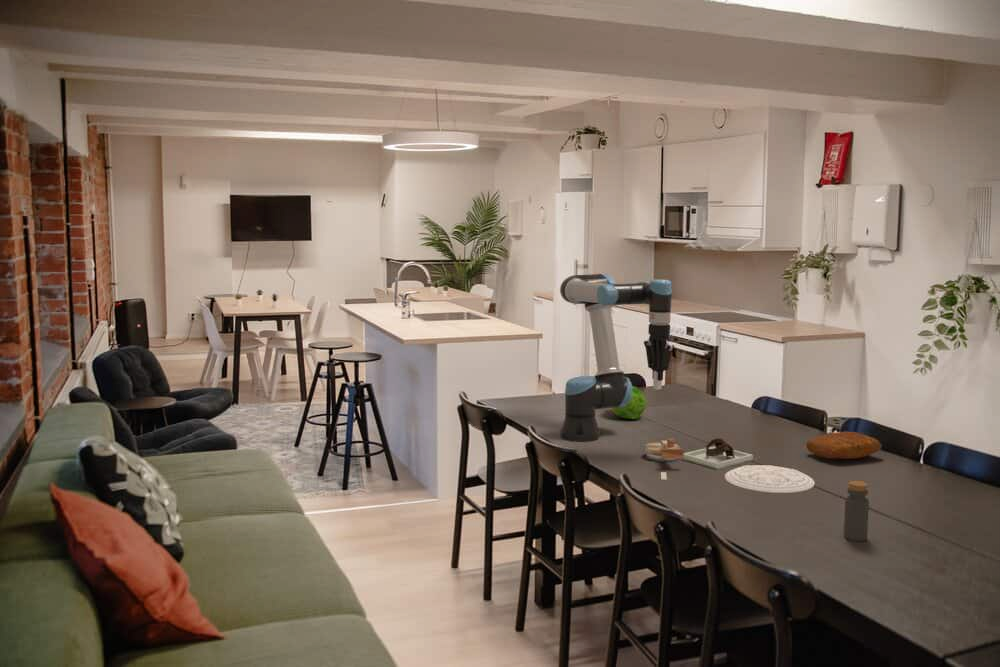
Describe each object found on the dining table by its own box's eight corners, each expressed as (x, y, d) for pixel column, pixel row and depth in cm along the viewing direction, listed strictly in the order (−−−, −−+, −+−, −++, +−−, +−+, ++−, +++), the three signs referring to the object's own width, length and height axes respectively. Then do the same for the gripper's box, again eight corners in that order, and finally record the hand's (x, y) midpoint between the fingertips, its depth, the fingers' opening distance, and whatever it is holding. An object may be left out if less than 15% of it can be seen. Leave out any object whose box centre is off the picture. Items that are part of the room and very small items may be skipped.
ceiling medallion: (814, 473, 300) (814, 464, 299) (814, 498, 273) (815, 488, 273) (728, 466, 309) (728, 457, 308) (721, 489, 282) (721, 479, 282)
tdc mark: (660, 472, 299) (660, 472, 299) (666, 473, 299) (666, 472, 299) (661, 479, 291) (661, 479, 291) (666, 480, 291) (666, 479, 291)
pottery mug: (738, 463, 309) (729, 444, 307) (713, 473, 312) (703, 455, 309) (734, 446, 320) (724, 428, 318) (709, 456, 323) (700, 438, 320)
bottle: (839, 534, 241) (842, 480, 239) (860, 533, 242) (863, 479, 240) (849, 541, 235) (852, 486, 233) (871, 541, 236) (874, 486, 234)
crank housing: (640, 456, 320) (640, 450, 319) (661, 451, 326) (661, 445, 326) (662, 463, 311) (662, 456, 310) (684, 458, 317) (684, 451, 317)
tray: (681, 459, 316) (681, 453, 315) (717, 451, 327) (717, 445, 326) (716, 469, 303) (717, 463, 302) (752, 460, 314) (752, 455, 313)
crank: (642, 446, 324) (642, 427, 323) (674, 445, 324) (675, 427, 323) (655, 462, 302) (655, 442, 301) (690, 462, 303) (691, 442, 302)
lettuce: (596, 418, 390) (627, 420, 395) (619, 417, 369) (651, 420, 374) (597, 385, 392) (628, 387, 397) (620, 382, 371) (653, 385, 375)
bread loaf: (851, 449, 329) (852, 428, 328) (885, 461, 313) (886, 438, 311) (801, 454, 321) (802, 433, 320) (833, 467, 305) (834, 444, 304)
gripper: (638, 322, 317) (636, 386, 321) (665, 326, 307) (662, 393, 310) (654, 320, 321) (651, 384, 325) (680, 324, 311) (678, 391, 315)
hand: (657, 388), depth 318 cm, fingers closed
